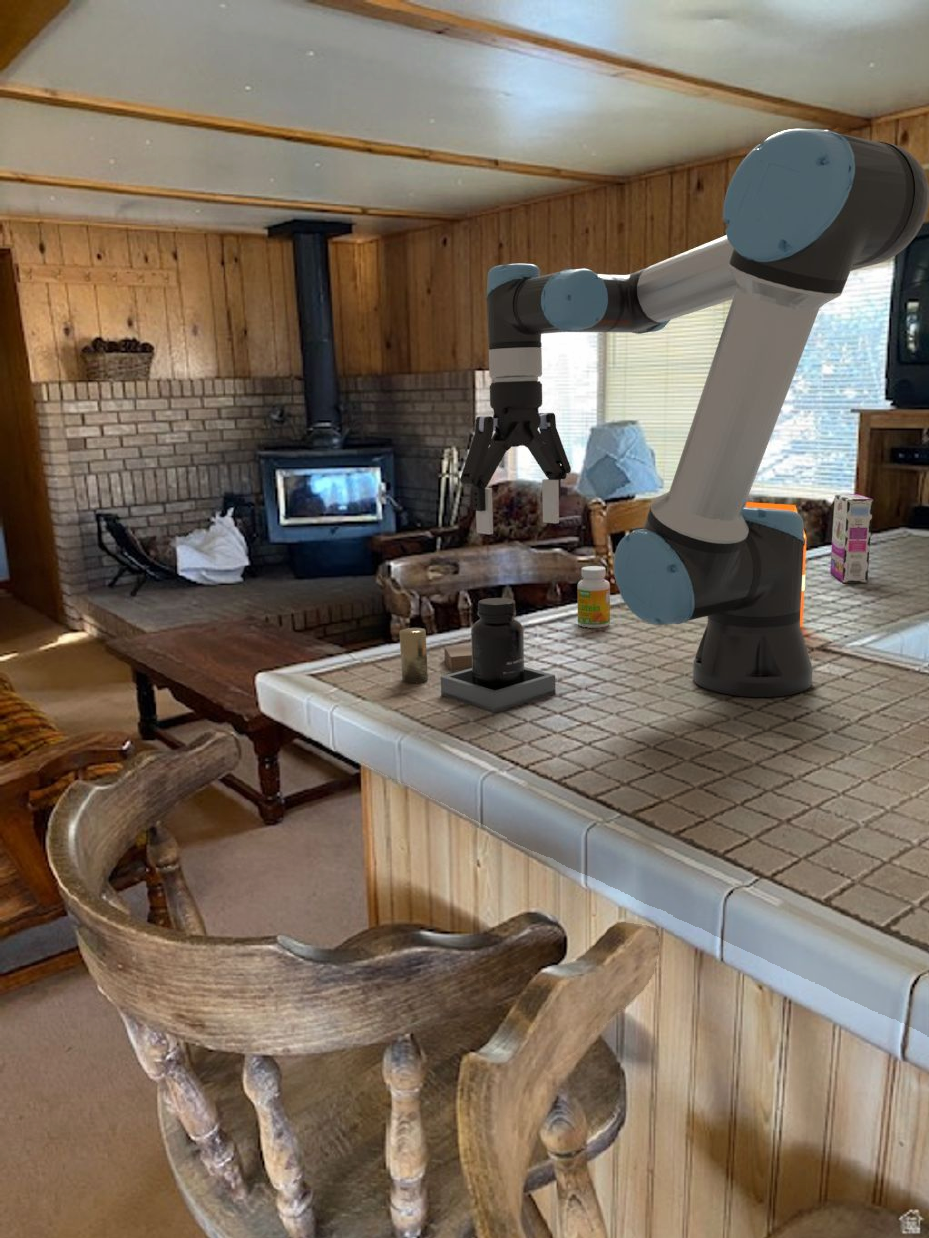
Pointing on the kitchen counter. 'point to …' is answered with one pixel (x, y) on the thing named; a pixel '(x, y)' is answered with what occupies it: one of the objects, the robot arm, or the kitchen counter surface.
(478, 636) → the supplement bottle
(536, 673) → the tray
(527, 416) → the robot arm
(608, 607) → the supplement bottle
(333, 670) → the kitchen counter surface
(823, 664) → the kitchen counter surface
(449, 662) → the tan cardboard box
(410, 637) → the cylinder
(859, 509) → the candy bar box
